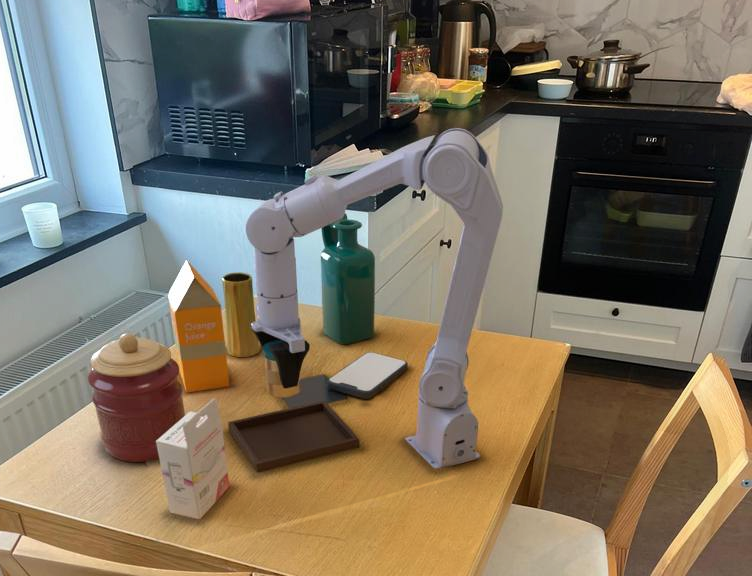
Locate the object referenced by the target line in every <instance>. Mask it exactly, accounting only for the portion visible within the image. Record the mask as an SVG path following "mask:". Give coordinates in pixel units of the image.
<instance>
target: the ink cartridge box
mask: <svg viewBox="0 0 752 576" xmlns="http://www.w3.org/2000/svg"><path fill="white" fill-rule="evenodd" d="M223 431H224V430H223V424H222V418H221V414H220V410H219V406H218V401H217V399H216V397H214V398H213V397H212V399H211V400H210V401H208V402H207V404H205V405H204V406H203V407H202V408H201V409H199V410H198V411H197V412H196V411H188V412H187V413H185V416H184V417H183V418H182V419H181V420H180V421H178V422H177V423H176V424H175V425H174V426H173V427H172V428H170V429H169V430H168V431H167V432H166V433H165V434H163V435H162V436H161V437H160V438H159V439H158V440H156V444H157V449H158V454H159V458H158V459H159V464H160V469H161V474H162V479H163V480H162V481H163V484H164V490H165V495H166V500H167V504H168V511H169V513H170V514H171V513H172V514H175V515H179V516H184V517H188V518H192V519H195V520H200V519H202V518H203V516H205V514H206V513H207V512H208V511H209V510H211V508H212V506H213V505H214V504H215V503H216V502H217V501H218V500H219V499H220V497H221V496H222V495H223V494H224V493H225V492H226V491H227V490H228V488H230V480H229V470H228V464H227V454H226V447H225V439H224V432H223Z"/></svg>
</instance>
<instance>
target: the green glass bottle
mask: <svg viewBox="0 0 752 576" xmlns="http://www.w3.org/2000/svg"><path fill="white" fill-rule="evenodd" d="M347 215H348V214H347V213H346V212H345V214H344V216H343V218H342V219H340V220H338V221H336V222H334V223H331V224H329V225H327V226H325V227H322V228H320V229H321V237H322V242H323V246H324V248H323V249H322V251H321V253H320V277H321V278H320V279H321V308H322V310H321V313H322V332H323V334H324V335H326V336H327V337H328V338H330V339H331V340H333V342H336V343H337V344H340V345H350V344H354V343H358V342H361V341H362V342H363V341H366V340H370V339H372V338H373V337H374V335H375V311H376V310H375V309H376V308H375V307H376V306H375V304H376V303H375V302H376V301H375V300H376V298H375V296H376V295H375V294H376V257H375V254H374V252H373V251H372V250H371V249H370V248H368V247H365V246H363V245H361V244H359V241H358V230H359V229H361V228H362V227H363V224H362V222H361V221H358V220H355V219H348V216H347Z"/></svg>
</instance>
